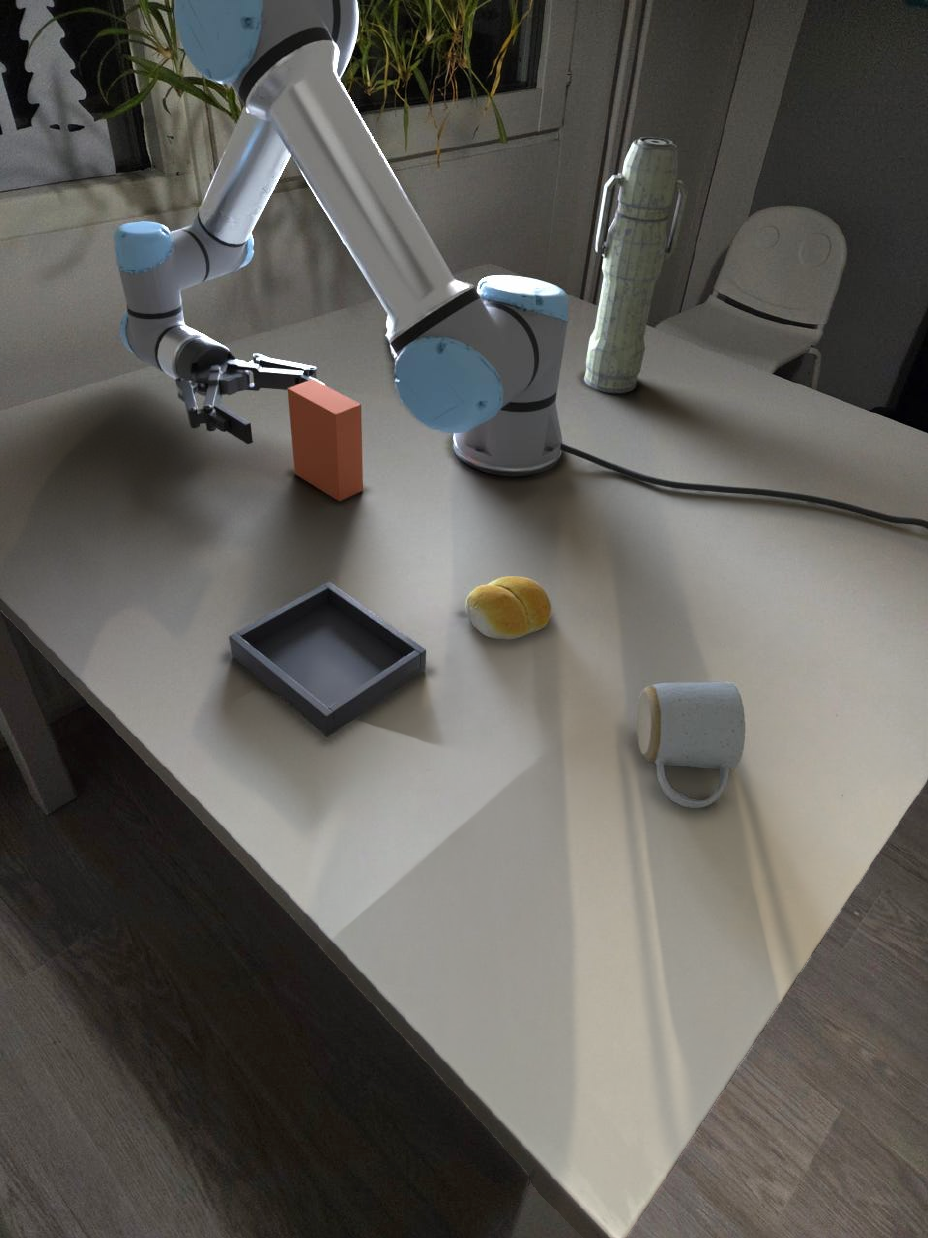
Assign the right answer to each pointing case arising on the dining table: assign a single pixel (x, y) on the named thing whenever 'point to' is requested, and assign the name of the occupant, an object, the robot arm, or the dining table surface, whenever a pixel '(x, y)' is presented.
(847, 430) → the dining table surface
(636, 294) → the thermos
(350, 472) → the reddish orange block
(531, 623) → the bread roll
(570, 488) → the dining table surface
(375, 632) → the tray
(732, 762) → the ceramic mug
